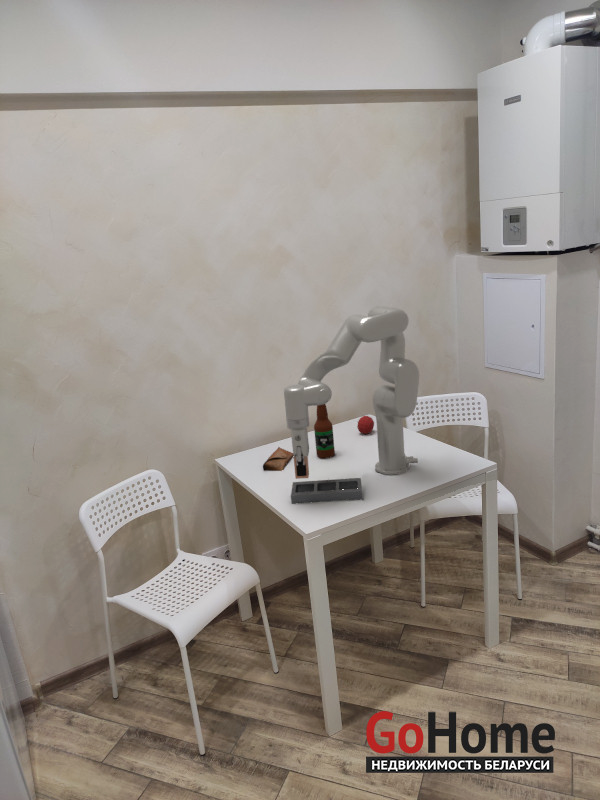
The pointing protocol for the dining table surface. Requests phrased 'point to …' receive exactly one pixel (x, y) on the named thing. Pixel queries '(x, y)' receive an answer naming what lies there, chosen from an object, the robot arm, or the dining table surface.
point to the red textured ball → (365, 424)
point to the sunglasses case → (278, 460)
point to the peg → (306, 468)
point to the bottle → (323, 434)
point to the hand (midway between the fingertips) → (302, 472)
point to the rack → (326, 490)
